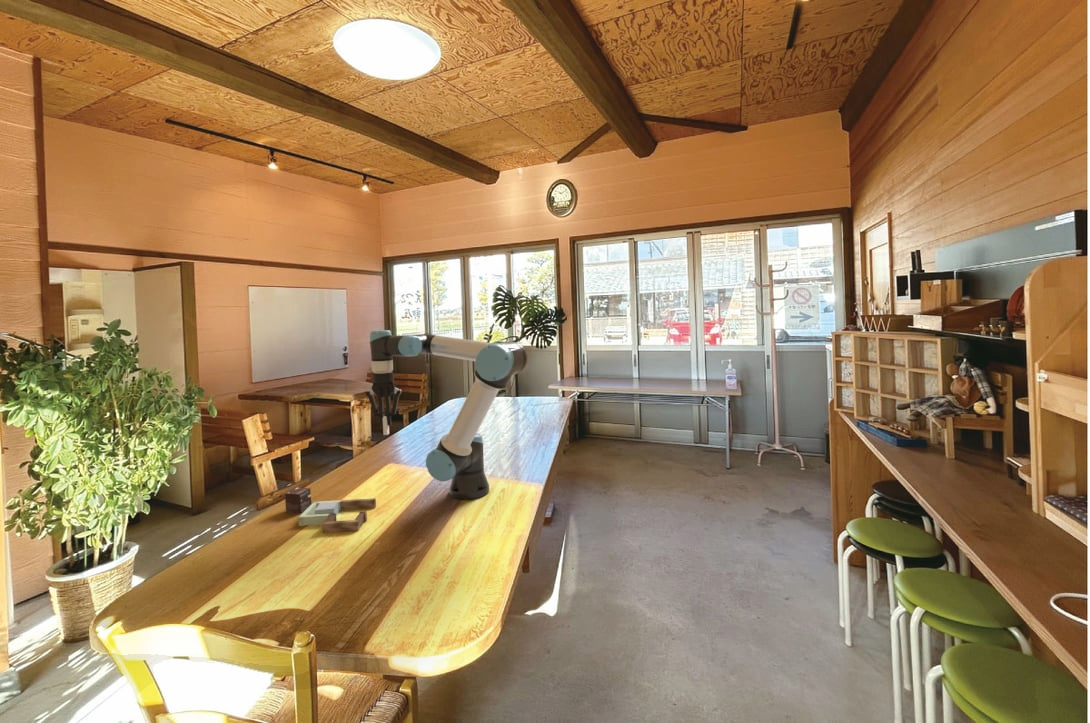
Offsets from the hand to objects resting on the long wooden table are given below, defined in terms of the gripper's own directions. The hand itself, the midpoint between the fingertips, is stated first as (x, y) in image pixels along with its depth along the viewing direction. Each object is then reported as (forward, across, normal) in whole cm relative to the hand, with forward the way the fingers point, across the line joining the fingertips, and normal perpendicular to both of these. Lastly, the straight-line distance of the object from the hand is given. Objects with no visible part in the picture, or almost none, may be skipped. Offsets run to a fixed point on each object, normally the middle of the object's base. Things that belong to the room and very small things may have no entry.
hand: (386, 434), depth 175 cm
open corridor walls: (+24, +9, +18) cm, 32 cm away
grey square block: (+25, +18, +15) cm, 34 cm away
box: (+25, +30, +8) cm, 40 cm away
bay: (+24, +19, +15) cm, 34 cm away
